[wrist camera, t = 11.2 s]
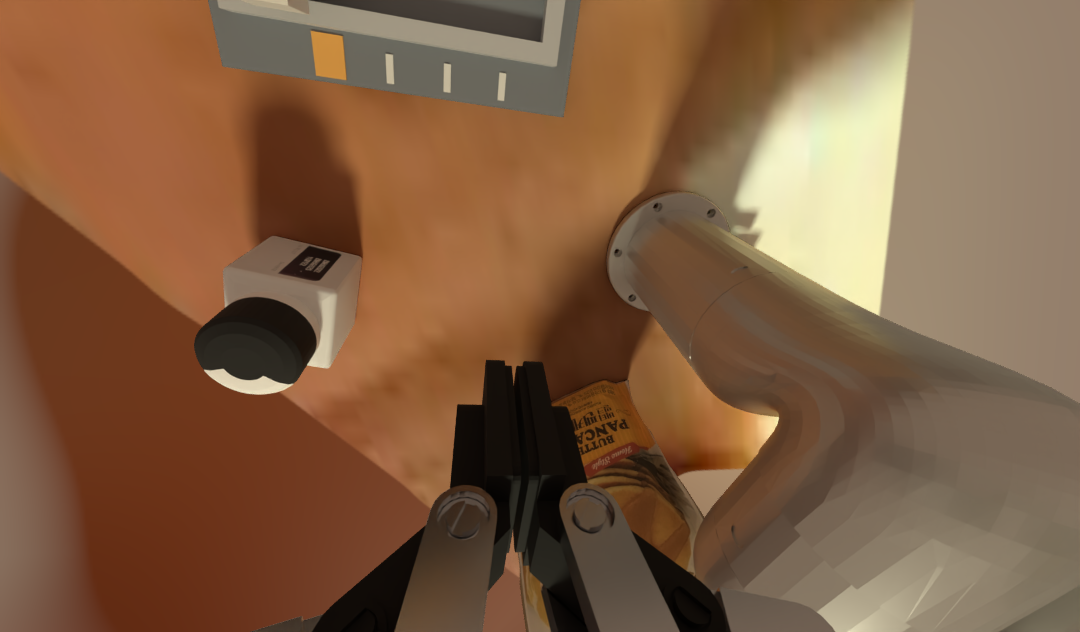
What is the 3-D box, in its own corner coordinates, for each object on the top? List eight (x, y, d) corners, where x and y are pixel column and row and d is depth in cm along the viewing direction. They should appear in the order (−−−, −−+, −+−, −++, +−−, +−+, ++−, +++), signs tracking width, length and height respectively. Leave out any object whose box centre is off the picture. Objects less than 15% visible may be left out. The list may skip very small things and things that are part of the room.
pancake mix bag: (648, 397, 50) (799, 681, 26) (518, 456, 53) (546, 764, 28) (631, 361, 47) (787, 648, 23) (493, 425, 49) (501, 745, 25)
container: (271, 233, 34) (168, 301, 23) (363, 255, 36) (310, 328, 25) (270, 307, 38) (181, 398, 27) (355, 324, 40) (304, 415, 29)
